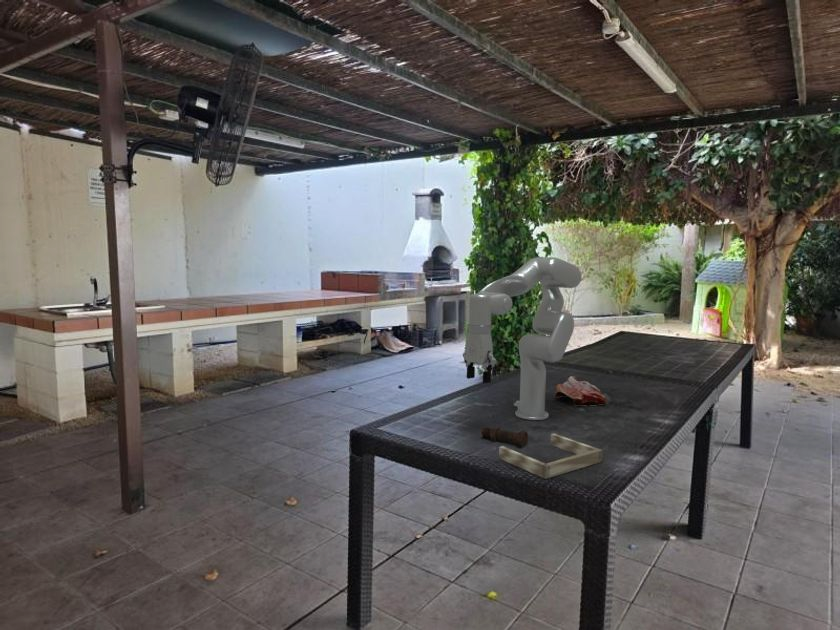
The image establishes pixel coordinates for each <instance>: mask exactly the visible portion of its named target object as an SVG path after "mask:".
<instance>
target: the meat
mask: <svg viewBox="0 0 840 630" xmlns="http://www.w3.org/2000/svg"><path fill="white" fill-rule="evenodd" d="M554 395H555V397H556V398H557V397H560V396H565V397H568V398H569V399H572V401H573V404H572V406H573V405H574V406H573V407H576V406H575V405H587V406H590V405H599V404H604V405H605V404H606V401H607V400H606V399H607V398H606V397H605V396H604V394H602V391H601V390H600V389H599V388H598V387H597V386H596V385H595V384H594V385H593V384H591V383H590V382H589V381H586V380H583V381H582V380H581V381H579V380H578V379H577V376H571V375H570V377H568V378H567V379H566V381H565V382H564V383H558V384H557V385H556V386H555V393H554Z"/></svg>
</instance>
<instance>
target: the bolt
mask: <svg viewBox="0 0 840 630" xmlns="http://www.w3.org/2000/svg"><path fill="white" fill-rule="evenodd" d="M481 435H482V437H484V438H488V439H490V440H491V441H492V442H498V441H505V442H509V443H514V444H517V447H518V448H525V447H526V446H527V444H528V441H529V433H528V431H527V430H526V429H522V430H520V431H517V432H515V431H508V430H503V429H501V428H500V427H499V426H492V428H490V427H484V428H482V431H481Z"/></svg>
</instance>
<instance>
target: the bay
mask: <svg viewBox="0 0 840 630" xmlns="http://www.w3.org/2000/svg"><path fill="white" fill-rule="evenodd" d="M550 445H551V446H553V447H556V448H559V449H561V450H563V451H566V452H568V453H571V454H574V455H571V456H568V457H564V458H561V459H557V460H554V461H551V462H547V463H545V462H542V461H541V460H538V459H535V458H533V457H531V456H528V455H526V454H523V453H521V452H518V451H516V450H513V449H511V448H509V447H506V446H504V445H501V446H499V447H498V448H499V449H498V459H500V460H502V461H503V462H505V463H509V464H511V465H512V466H515V467H518V468H520V469H522V470H524V471H526V472H529V473H531V474H534V475H536V476H538V477H540V478H542V479H545V480H547V479H550V478H553V477H557V476H560V475H564V474H566V473H569V472H573V471H575V470H580V469H581V468H582V469H583V468H586V467H589V466H592V465H595V464H598V463H601V462H603V449H601V448H598V447H595V446H592V445H589V444H586V443H583V442H580V441H577V440H575V439H571V438H568V437H565V436H563V435H559V434H557V433H551V434H550Z"/></svg>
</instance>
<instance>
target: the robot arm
mask: <svg viewBox="0 0 840 630" xmlns="http://www.w3.org/2000/svg"><path fill="white" fill-rule="evenodd" d="M581 281H582V271H581V269H580V268H579V267H578V266H577V265H575V264H572V263H570V262H568V261H566V260H563V259H561V258H558V257H553V256H545V257H543V256H542V257H541V256H538V257H533V258H531V259H529V260H528V261H527V262H526V263H524V264H523V265H521V267H520V268H518V269H517V270H516V271H515V272H514V273H512V274H509V275H507V276H505V277H502V278H500V279H498V280H494V281H493V282H491V283H489V284H487V285H485V286H484V287H483V288H482V289H481V290H479V291H478V292H477V293H472V294H471V295H470V296H469V298H468V299H469V301H468V302H469V303H468V307H469V308H468V332H467V334H466V336H465V337H466V338H465V345H464V352H463V353H462V357H463V361H464V363H465V367H466V379H468V380H469V379H475V378H476V377H475V376H476V367H475V366H474V365H475V364H476V365H482V368H483V370H484V371H482V383H483V384H489V383H491V382H492V371H493V369H494V368H495V367H496V364H497V363H498V361H497V359H496V357H494V355H493V353H494V352H493V351H494V350H493V349H494V347H493V339H492V337H493V336H492V333H491V331H492V327H491V326H492V315H498V316H500V315H506V314H507V313H509V312H511V310H512V309H513V300H512V298H511V297H517V296H518V297H519V296H521V295H525V294H526V293H528V292H529V291H531V289H533V288H534V287H535V286H536V285H537V284H539V283H540V286H541V289H542V299H541V302H540V304H539V306H538V309H537V311H536V313H535V315H534V318H533V321H532V323H531V324H532V329H533V331H534V332H536V333H528V334H527V333H526V334H524V335H523V336H521V338H520V339H519V341H518V352H519V359H520V377H519V378H520V384H519V388H520V389H519V400H516V401H515V402H514V403H513V407H517V409H516V410H515V413H514V414H515V416H516V417H517V418H520V419H523V420H529V421H530V420H531V421H540V420H541V421H542V420H543V421H544V420H547V419H548V418H549V417H550V414H549V412H548V411H546V408H545V407H546V385H547V384H546V383H547V380H546V379H547V369H546V366H545V363H544V362H547V363H557V362H559V361H560V360H561V359H562V358H563V357H564V355H565V352H566V350H567V347H568V346H569V342H570V340H571V337H572V335H573V332H574V329H575V319H574V317H573V315H572V314H571V313H570V312H567V311H564V310H563V308H564V305H565V300H564V299H565V298H564V296H563V294H562V292H561V289H560V288H563V289H564V288H566V289H574V288H577V287H578V286H579V285H580V283H581Z"/></svg>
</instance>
